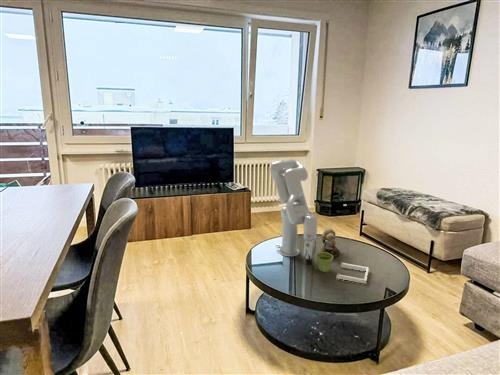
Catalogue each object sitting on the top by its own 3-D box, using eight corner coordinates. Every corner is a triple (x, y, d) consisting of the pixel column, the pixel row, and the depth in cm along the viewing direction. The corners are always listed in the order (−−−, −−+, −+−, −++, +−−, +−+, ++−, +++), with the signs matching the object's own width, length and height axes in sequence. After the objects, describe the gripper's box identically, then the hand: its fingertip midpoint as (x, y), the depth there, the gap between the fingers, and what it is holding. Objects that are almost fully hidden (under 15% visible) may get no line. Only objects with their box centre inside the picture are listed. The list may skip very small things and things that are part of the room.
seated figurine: (340, 260, 207) (341, 234, 202) (320, 258, 209) (321, 233, 205) (338, 247, 224) (340, 223, 219) (320, 246, 226) (321, 222, 222)
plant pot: (335, 269, 196) (336, 255, 194) (326, 275, 189) (327, 261, 187) (321, 264, 202) (322, 250, 200) (312, 270, 195) (313, 256, 193)
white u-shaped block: (336, 279, 186) (336, 273, 185) (340, 266, 199) (341, 261, 198) (365, 284, 180) (366, 279, 179) (368, 271, 193) (368, 266, 192)
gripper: (313, 241, 186) (312, 271, 190) (319, 231, 199) (318, 260, 204) (300, 239, 189) (299, 269, 193) (306, 230, 202) (306, 258, 207)
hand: (309, 264), depth 198 cm, fingers closed
